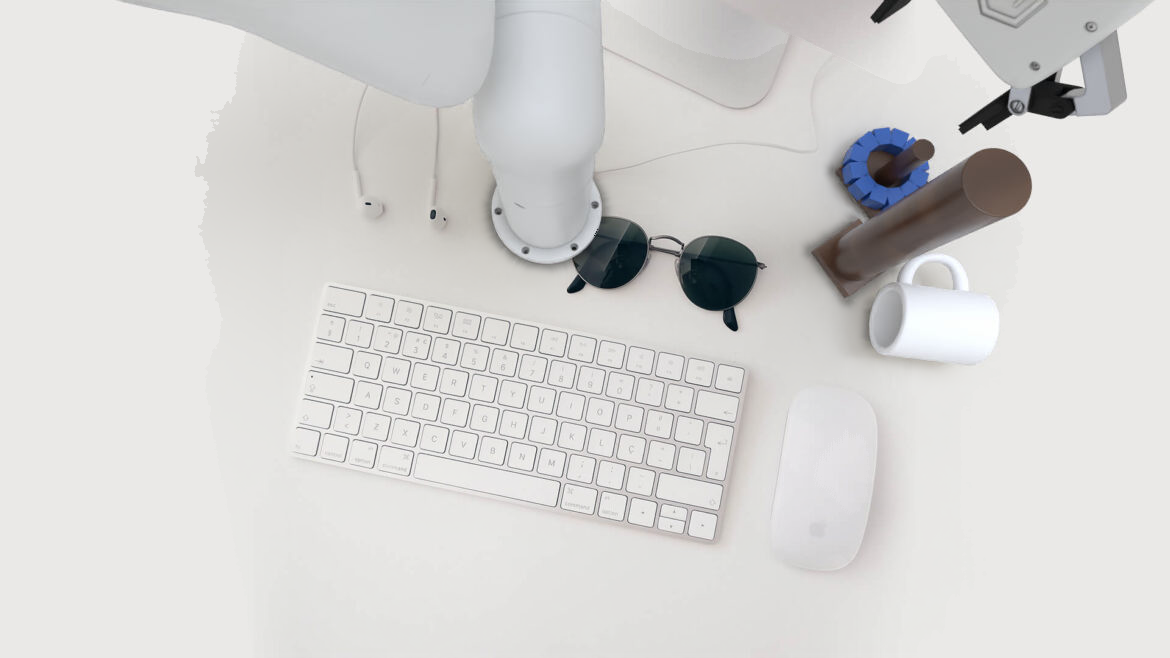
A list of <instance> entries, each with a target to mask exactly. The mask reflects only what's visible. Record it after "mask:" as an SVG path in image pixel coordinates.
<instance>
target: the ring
mask: <svg viewBox="0 0 1170 658" xmlns="http://www.w3.org/2000/svg"><path fill="white" fill-rule="evenodd" d="M909 137H910V133H908V132H906V131H904V130H901V129H899V128H896V127H893V128H892V129H891V127H890V126H889V127H879V128H874V129H872V130H869V131H867V132H865V134H863V135H862V136H860V137H859V138H857V140H856V141H855V142H853V144H852V145H850V147H849V148H848V149H847V150H846V153H845V156H844V158H843V161H842V164H841V166H843V165H844V166H845V167H844V168H843V169H842V173H843V178H844V183H845V184H852V185H851V186H849V187H848V188H846V189H847V191H848V192H849V193H850V195H851V196H852V195H853V196H852V197H853V198H854V200H855V199H856V200H857V201H858V200H860V199H861V198H863V200H862V202H861V204H862V205H865V206H867V207H870V208H872V209H875V210H877V209H879V208H880V209H881V211H882V210H885V209H886V208H888V207H889V206H891V205H893V204H894V203H896V202H897V201H899V200H901V199H902V198H904V197H905V196H907V195H909V194H910V193H912V192H913V191H915V190H917V189H918V188H920V187H921V186H923V185H925V184H926V182H928V179H929V176H930V173H929V172H927V171H929V170H930V169H931V168H930V164H929V160H928V161H927V162H925V163H924V164H922V165H921V166H920V167H918V168H917V169H915V170H914V171H912V172H911V173H909V174H908V175H906V176H905V177H903V179H902V181H901V184H900V186H899V187H895V188H886V187H884V186H881V185H879V184H876V182H875V181H874V180H873V179H872V178H871V176H870V175H869V174H868V169H867V164H866V162H867V159H868V157H869V154H870V152H873V151H881V150H883V151H885V152H888V153H890V154H892V155H894V156H895V157H896V156H897V155H899V154H900V153H901V152H902V151H904V150H905V149H906V148H908V147H909V146H910V145H912V144H913V143H914V142H916V141H917V140H918V139H916V138H915V136H912V137H911V138H910V139H909ZM856 200H855V201H856ZM857 201H856V202H857Z"/></svg>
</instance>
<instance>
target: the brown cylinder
mask: <svg viewBox="0 0 1170 658" xmlns="http://www.w3.org/2000/svg"><path fill="white" fill-rule="evenodd" d="M927 182H928V183H926V184H925V185H923V186H921V187H920V188H918V189H917V190H915V191H913V192H912V193H910V194H909V195H907V196H905V197H904V198H902V199H901V200H899V201H897V202H896V203H894V204H893V205H891V206H889V207H888V208H886V209H885V210H883V211H881V212H880V213H878V214H877V215H875V216H873V217H872V218H868V219H867V220H865V221H864V222H862V220H861V219H860V218H857V220H855V221H853V222H852V223H850V224H849V225H848V226H846V227H845V228H843V229H842V230H841V231H839V232H838V233H836V234H835V235H833V236H832V237H830V238H829V239H827V240H826V241H825V242H823V243H822V244H820V245H819V246H818V247H816V248H815V249H813V250H812V251H811V254H812V256H813V257H814V258H815V260H816V261H817V262H818V264H819V265H820V267H821V268H822V269H823V271H824V272H825V273H826V275H827V276H828V278H829V279H830V280H831V281H832V283H833V284H834V286H835V287H836V288H837V290H838V291H839V292H840V294H841V295H842V296H843V297H844V298H845V299H846V298H848V297H849V298H850V297H851V296H852V295H854V294H855V293H856V292H858V291H860V290H861V289H862V288H864V287H866V285H868V284H869V283H870V282H872V281H873V280H875V279H876V278H877V277H880V275H882V274H883V273H884V272H885V271H886V272H887V270H889V269H892V268H895V267H896V266H899V265H901V264H903V263H906V262H907V261H909V260H910V259H913V258H915V257H917V256H920V255H922V254H927V253H930V252H931V251H934V250H936V249H938V248H940V247H943V246H945V245H947V244H949V243H951V242H952V243H953V242H954V241H956V240H958V239H961V238H964V237H965V236H967V235H970V234H972V233H975V232H977V231H979V230H981V229H984V228H987V227H988V226H991V225H993V224H995V223H998V222H999V221H1003V220H1004V219H1007V218H1009V217H1011V216H1013V215H1016V214H1018V213H1019V212H1021V211H1022V209H1024V208H1025V207H1026V205H1027V204H1028V202H1029V200H1030V198H1031V197H1032V191H1033V181H1032V176H1031V173H1030V170H1029V169H1028V167H1027V165H1026V164H1025V162H1024V161H1023V160H1022V159H1021V158H1020V157H1019V156H1017V154H1015V153H1013V152H1011V151H1009V150H1007V149H1004V148H998V147H988V148H983V149H980V150H978V151H976V152H974V153H973V154H971V155H969V156H968V157H966V158H965V159H963V160H961V161H960V162H958V163H956V164H955V165H953V166H952V167H950V168H949V169H947V170H945V171H944V172H942V173H940V174H939V175H938V176H936V177H934V178H932V179H931V180H930V181H927Z"/></svg>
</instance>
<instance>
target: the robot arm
mask: <svg viewBox="0 0 1170 658" xmlns="http://www.w3.org/2000/svg"><path fill="white" fill-rule="evenodd" d="M116 1H117V2H121V3H124V4H125V3H126V4H130V5H133V6H138V7H143V8H148V9H153V10H158V11H163V12H168V13H173V14H179V15H184V16H190V17H195V18H198V19H201V20H206V21H210V22H214V23H218V24H222V25H226V26H230V27H232V28H235V29H238V30H241V31H243V32H245V33H248V34H251V35H253V36H256V37H259V38H261V39H263V40H265V41H268V42H270V43H271V44H274V45H276V46H278V47H279V48H283V49H285V50H287V51H289V52H290V53H294V54H296V55H298V56H300V57H303V58H304V59H307V60H310V61H312V62H314V63H317V64H319V65H322V66H324V67H326V68H328V69H330V70H332V71H335V72H337V73H339V74H342V75H344V76H346V77H349V78H351V79H352V80H356V81H358V82H360V83H362V84H365V85H367V86H369V87H372V88H374V89H376V90H379V91H381V92H383V93H385V94H389V95H390V96H393V97H396V98H398V99H401V100H404V101H407V102H410V103H413V104H416V105H418V106H422V107H429V108H435V109H448V108H454V107H458V106H461V105H464V104H465V103H467V102H468V101H470V100H471V99H472V121H473V131H474V136H475V141H476V143H477V146H478V148H479V150H480V151H481V153H482V154H483V155H484V156H485V157H486V158H487V159H488V161H489V164H490V167H491V171H492V174H493V176H494V179H495V183H496V186H495V189H494V192H493V195H492V198H491V207H490V208H491V209H490V211H491V218H492V223H493V226H494V229H495V232H496V234H497V236H498V238H499V239H500V240H501V242H502V243H503V245H504V246H505V247H506V248H507V249H509V251H510V252H511V253H513V254H515V255H516V256H518V257H519V258H521V259H523V260H526V261H528V262H531V263H536V264H542V265H552V264H553V265H554V264H559V263H564V262H566V261H569V260H571V259H573V258H575V257H576V256H578V255H580V254H581V253H582V252H583V251H584V250H586V249H587V248H588V247H589V246H590V244H592V241H593V240H594V239H595V237H596V235H597V233H596V231H597V232H598V231H599V228H600V225H601V222H602V214H603V204H602V197H601V194H600V192H599V189H598V186H597V184H596V182H595V181H594V174H595V167H596V166H595V165H596V157H597V154H598V152H599V151H600V149H601V147H602V144H603V143H604V138H605V133H606V132H605V131H606V93H605V92H606V89H605V69H604V66H605V65H604V45H603V32H602V31H603V30H602V2H601V0H116ZM911 1H912V0H883V1H882V2H881V3H880V4H879V6H878V7H877V8H876V10H875V11H874V12H873V13H872V14H871V16H870V17H869V18H870V20H871V21H872V22H873V23H874V24H877V25H880V24H881V23H882V22H884V21H886V20H887V19H888V18H890V17H891V16H893V15H895V14H896V13H897V12H899V11H901V10H902V9H903V8H905V7H906V6H907V5H909V4H910V2H911ZM1155 1H1156V0H935V2H936V3H937V4H938V5H939V7H940V8H941V9H942V11H943V12H944V13H945V15H947V17H948V19H950V21H951V22H952V23H953V25H954V26H955V28H957V30H958V31H959V32H960V33H961V35H962V36H963V37H964V38H965V39H966V41H967V42H968V43H969V44H970V46H971V47H972V48H973V50H974V51H975V52H976V53H977V54H978V55H979V57H980V58H981V59H982V60H983V62H984V63H985V64H986V65H987V66H988V68H989V69H990V70H991V71H992V72H993V74H994V75H995V76H996V77H997V78H998V79H1000V81H1002V82H1003V83H1005V85H1008V86H1010V88H1009V89H1008V90H1006V91H1005V92H1003V93H1002V94H1000V95H999V96H997V97H996V98H995V99H993V100H991V101H990V102H989V103H986V105H984V106H983V107H982V108H980V109H978V110H977V111H976V112H974V114H972V115H971V116H969V117H968V118H966V119H965V120H963V121H962V122H961V123H960V124H958V127H959V128H958V129H957V130H958V131H959V133H960V134H961V135H962V136H963V135H965V134H967V133H968V132H969V131H971V130H972V129H974V128H976V127H977V126H979V125H980V124H981V125H982V127H984V129H985V130H986V131H987V132H988V131H989V130H991V129H992V128H995V126H998V125H999V124H1001V123H1002V122H1004V121H1005V120H1007V119H1009V118H1010V117H1011V116H1016V117H1021V116H1023V115H1025V114H1027V113H1030V114H1034V115H1038V116H1039V115H1040V116H1043V117H1048V118H1051V119H1057V120H1064V119H1066V118H1067V117H1072V116H1073V117H1075V116H1076V117H1079V118H1080V117H1095V116H1107V115H1109V114H1110V113H1112V112H1113V111H1114V110H1115V109H1117V108H1118V107H1120V106H1121V105H1122V104H1124V103H1125V102H1126V101H1127V99H1128V93H1127V86H1126V81H1125V80H1126V79H1125V74H1124V73H1125V72H1124V68H1123V61H1122V54H1121V47H1120V42H1119V36H1118V35H1119V34H1118V29H1119V28H1121V27H1122V26H1123V25H1124V24H1126V23H1127V22H1129V21H1130V20H1131V19H1133V18H1134V17H1136V16H1137V15H1138V14H1140V13H1141V12H1142V11H1144V10H1145V9H1147V7H1149V6H1150V5H1151V4H1153V3H1154V2H1155ZM1078 58H1079V62H1080V67H1081V72H1082V78H1083V85H1084V86H1080V85H1076V84H1070V83H1063V82H1061V76H1062V73H1063V68H1065V67H1066V66H1068V65H1070V64H1071V63H1072V62H1074V61H1075V60H1077V59H1078ZM594 206H595V208H594ZM498 213H500V214H498ZM597 229H598V230H597ZM595 233H596V234H595ZM594 235H595V236H594ZM573 248H575V249H574V250H573ZM525 251H527V253H525Z"/></svg>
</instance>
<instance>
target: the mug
mask: <svg viewBox="0 0 1170 658" xmlns="http://www.w3.org/2000/svg"><path fill="white" fill-rule="evenodd" d="M926 263H935V264H936V263H937V264H941V265H943V266H945V267H947V269H948V270H949V271H950V274H951V278H952V289H951V288H944V287H937V286H936V287H935V286H929V285H928V286H927V285H922V284H921V285H920V284H913V278H914V275H915V273H916V271H917V270H918V268H919V267H920V266H921V265H923V264H926ZM969 283H970V282H969V279H968V275H967V272H966V270H965V268H964V266H963V265H962V264H961V262H960V261H959V260H957V259H956V258H954V257H953V256H951V255H949V254H947V253H946V254H945V253H940V252H926V253H924V254H922V255H920V256H917V257H915V258H913V259H910V260H908V261H906V262H904V264H903V265H902V266H901V268H900V269H899V272H898V275H897V278H896V281H892V282H889V283H887V284H885V285H884V286H883V287H882V288H881V289H880V290H879V292H878V293H877V294H876V296H875V298H874V301H873V303H872V306H871V309H870V313H869V320H868V333H869V339H870V340H869V341H870V343H871V345H872V347H873V349H874V350H875V352H877V354H879V355H883V356H887V357H898V358H903V359H904V358H905V359H913V360H914V359H915V360H920V361H921V360H922V361H929V362H935V363H936V362H937V363H945V364H952V365H961V366H969V367H970V366H976V365H979V364H980V363H983V361H985V360H986V359H987V358H988V357H989V356H990V354H991V353H992V351H993V350H994V348H995V346H996V344H997V340H998V338H999V333H1000V313H999V310H998V307H997V305H996V303H995V301H994V300H993V299H992V298H991V297H990V296H989V295H987V294H986V293H982V292H974V291H971V290H970V284H969Z"/></svg>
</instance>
